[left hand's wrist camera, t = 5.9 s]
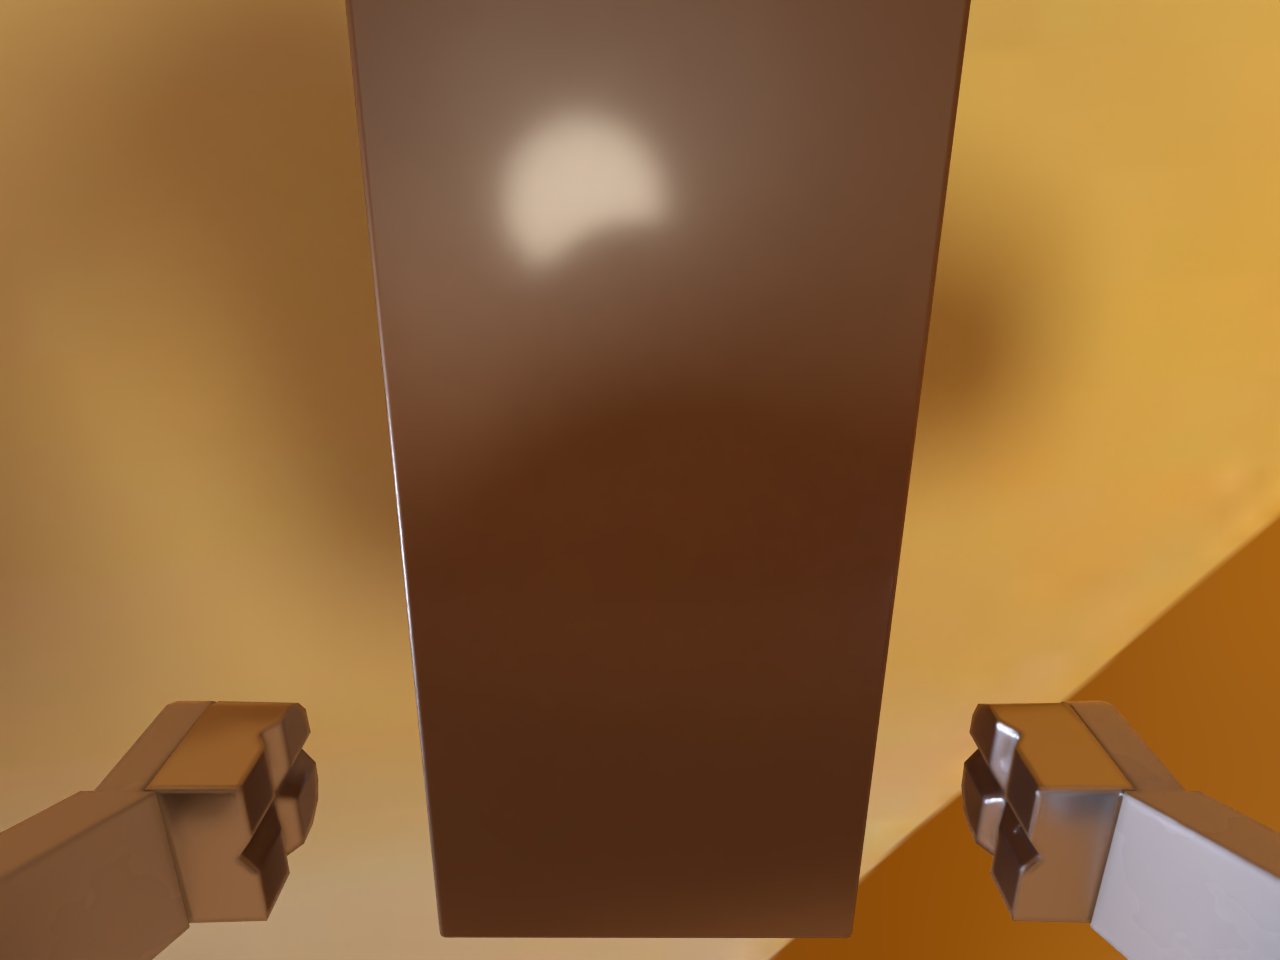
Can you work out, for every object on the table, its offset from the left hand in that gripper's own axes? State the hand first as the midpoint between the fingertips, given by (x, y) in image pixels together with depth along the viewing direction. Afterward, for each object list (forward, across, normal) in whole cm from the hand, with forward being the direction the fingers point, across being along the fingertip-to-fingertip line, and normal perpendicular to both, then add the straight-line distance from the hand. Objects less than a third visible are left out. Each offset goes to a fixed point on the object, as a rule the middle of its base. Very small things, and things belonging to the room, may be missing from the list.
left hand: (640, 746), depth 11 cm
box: (+11, 0, +8) cm, 14 cm away
